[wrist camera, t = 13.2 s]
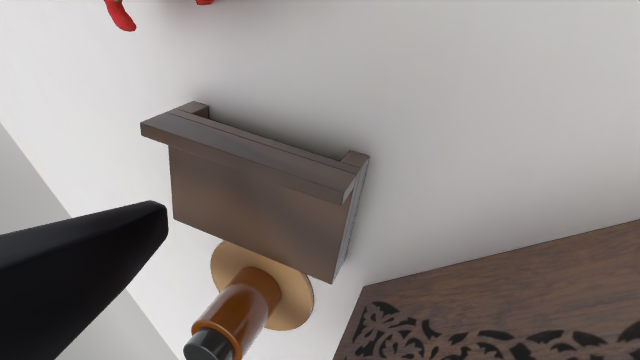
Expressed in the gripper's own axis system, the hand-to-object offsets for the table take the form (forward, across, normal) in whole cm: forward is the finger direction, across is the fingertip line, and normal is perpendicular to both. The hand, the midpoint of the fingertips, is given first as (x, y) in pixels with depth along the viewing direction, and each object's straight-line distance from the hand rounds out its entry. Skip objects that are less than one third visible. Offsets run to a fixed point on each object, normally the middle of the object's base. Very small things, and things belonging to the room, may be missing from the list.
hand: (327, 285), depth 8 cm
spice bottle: (+13, +8, +16) cm, 22 cm away
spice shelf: (+13, +8, +7) cm, 17 cm away
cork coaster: (+13, +8, +16) cm, 22 cm away
